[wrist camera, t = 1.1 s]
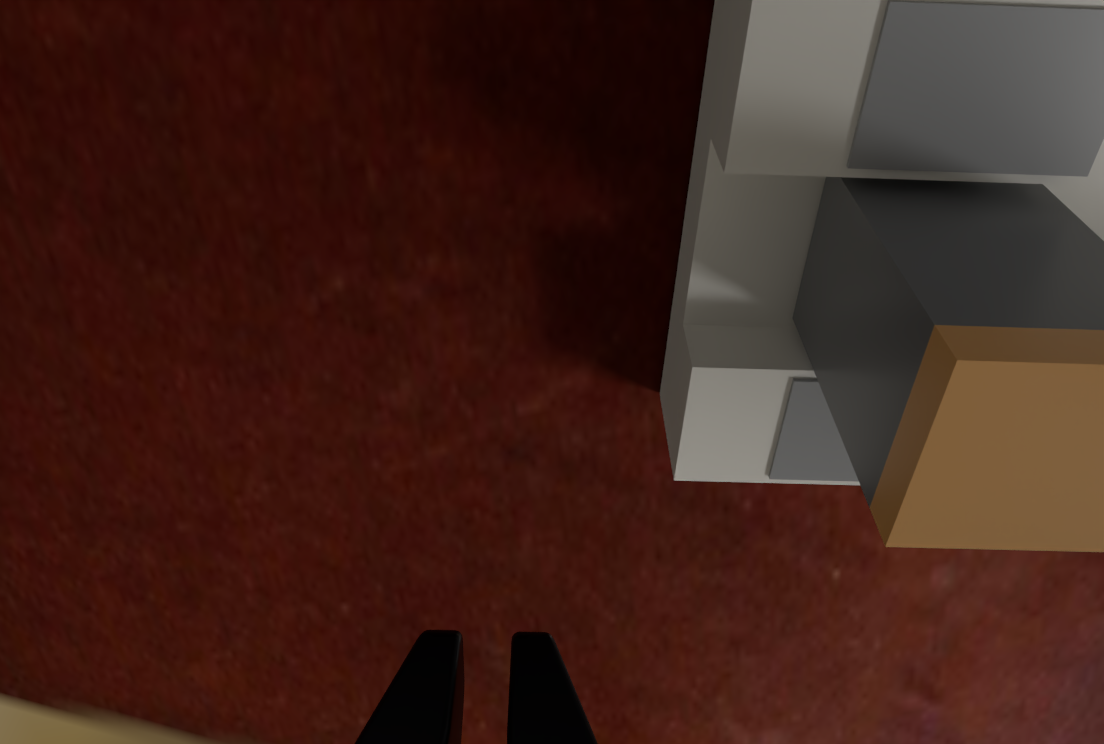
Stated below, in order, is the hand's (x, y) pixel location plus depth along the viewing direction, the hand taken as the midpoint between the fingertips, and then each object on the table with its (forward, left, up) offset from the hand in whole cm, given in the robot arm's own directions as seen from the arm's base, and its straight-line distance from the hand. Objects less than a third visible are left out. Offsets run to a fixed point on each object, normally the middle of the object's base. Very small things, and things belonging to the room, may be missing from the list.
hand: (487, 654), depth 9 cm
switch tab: (-8, 0, -9) cm, 12 cm away
